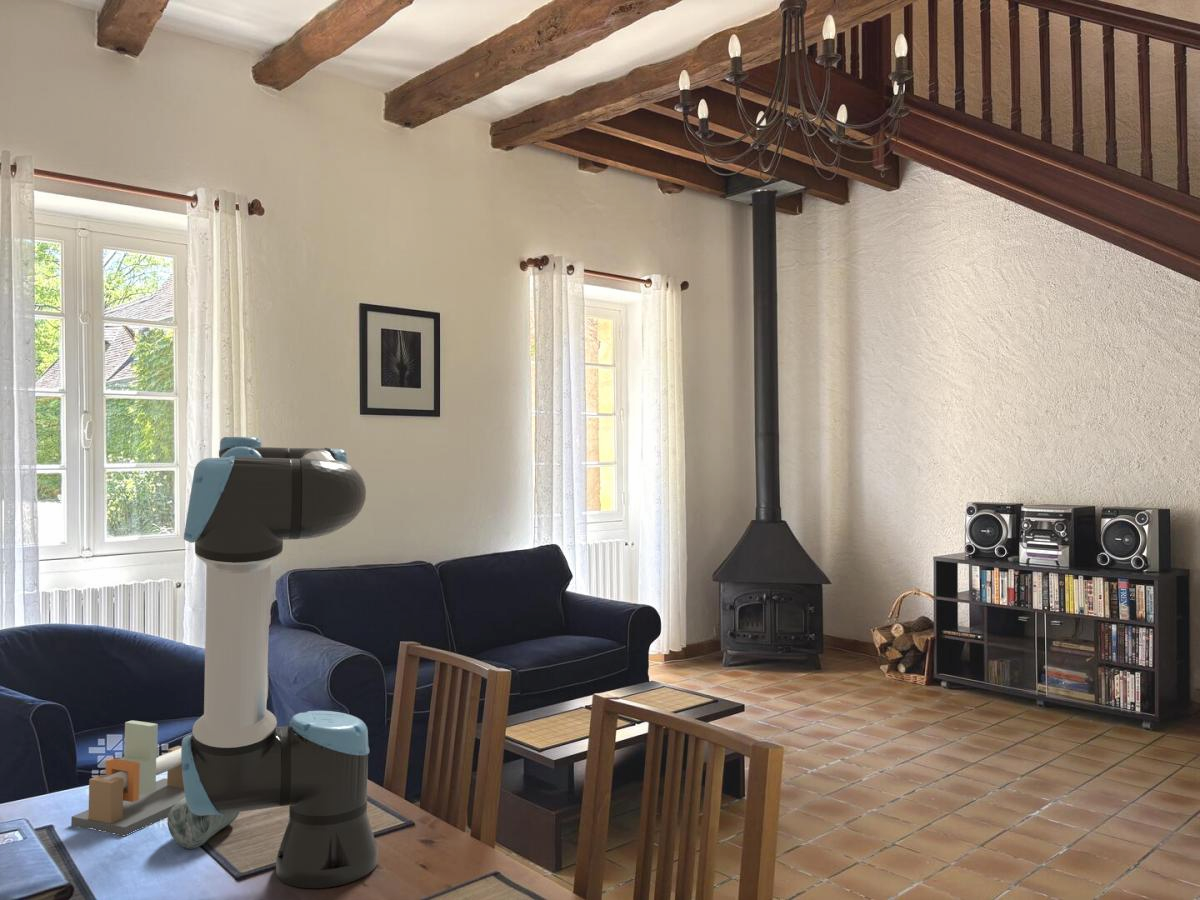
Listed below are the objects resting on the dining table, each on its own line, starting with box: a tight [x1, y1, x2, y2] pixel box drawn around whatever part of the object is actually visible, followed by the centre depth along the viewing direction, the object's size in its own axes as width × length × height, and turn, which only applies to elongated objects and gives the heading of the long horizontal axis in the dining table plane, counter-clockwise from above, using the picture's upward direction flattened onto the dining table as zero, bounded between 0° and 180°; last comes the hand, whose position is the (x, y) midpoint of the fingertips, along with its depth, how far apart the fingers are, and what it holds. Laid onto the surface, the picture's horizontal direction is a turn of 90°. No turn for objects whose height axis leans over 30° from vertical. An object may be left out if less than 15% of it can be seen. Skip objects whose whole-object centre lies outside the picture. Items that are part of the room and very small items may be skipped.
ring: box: [105, 757, 140, 802], centre depth 156 cm, size 6×1×6 cm, turn 70°
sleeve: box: [117, 720, 159, 796], centre depth 158 cm, size 6×4×12 cm, turn 71°
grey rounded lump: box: [166, 797, 240, 850], centre depth 150 cm, size 14×10×10 cm
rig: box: [70, 745, 185, 836], centre depth 161 cm, size 12×20×9 cm, turn 160°
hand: (236, 641), depth 171 cm, fingers closed
